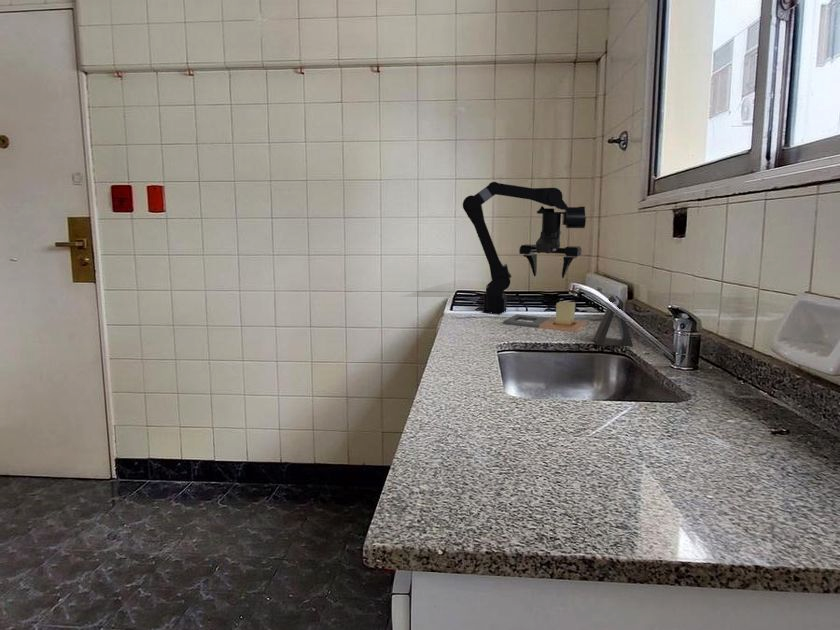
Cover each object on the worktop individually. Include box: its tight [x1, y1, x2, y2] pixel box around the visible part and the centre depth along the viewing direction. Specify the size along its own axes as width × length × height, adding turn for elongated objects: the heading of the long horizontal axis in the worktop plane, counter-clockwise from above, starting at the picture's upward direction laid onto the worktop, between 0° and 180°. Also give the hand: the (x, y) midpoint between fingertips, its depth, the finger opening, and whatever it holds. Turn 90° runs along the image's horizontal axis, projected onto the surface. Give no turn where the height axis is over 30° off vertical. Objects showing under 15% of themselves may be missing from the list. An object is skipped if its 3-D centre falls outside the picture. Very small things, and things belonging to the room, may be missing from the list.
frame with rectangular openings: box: [502, 314, 588, 333], centre depth 167 cm, size 22×12×1 cm, turn 61°
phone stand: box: [593, 295, 634, 348], centre depth 144 cm, size 9×6×12 cm, turn 78°
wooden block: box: [555, 300, 576, 326], centre depth 164 cm, size 4×4×7 cm
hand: (548, 277), depth 181 cm, fingers open, 9 cm apart
